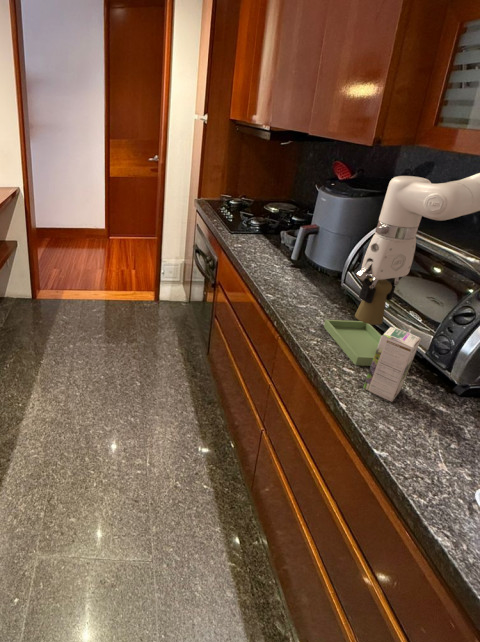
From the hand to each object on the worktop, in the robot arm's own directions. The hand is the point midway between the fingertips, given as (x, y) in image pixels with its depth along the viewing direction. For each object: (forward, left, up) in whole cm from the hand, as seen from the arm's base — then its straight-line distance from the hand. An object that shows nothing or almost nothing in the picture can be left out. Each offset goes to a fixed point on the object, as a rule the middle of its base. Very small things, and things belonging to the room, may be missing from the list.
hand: (374, 298), depth 97 cm
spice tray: (0, 0, -14) cm, 14 cm away
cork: (0, 0, -6) cm, 6 cm away
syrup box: (-12, +13, -14) cm, 23 cm away
